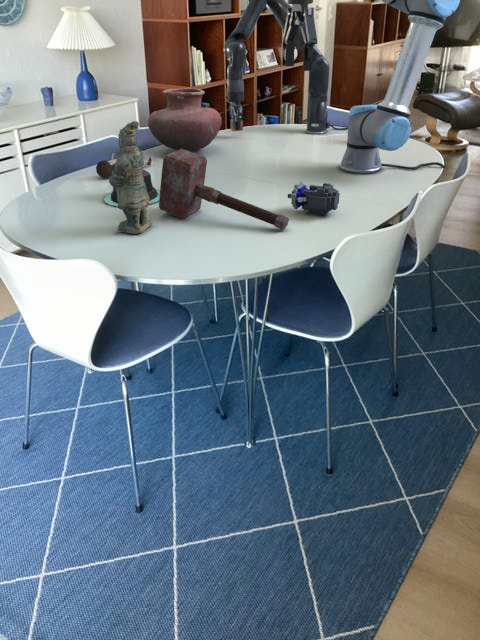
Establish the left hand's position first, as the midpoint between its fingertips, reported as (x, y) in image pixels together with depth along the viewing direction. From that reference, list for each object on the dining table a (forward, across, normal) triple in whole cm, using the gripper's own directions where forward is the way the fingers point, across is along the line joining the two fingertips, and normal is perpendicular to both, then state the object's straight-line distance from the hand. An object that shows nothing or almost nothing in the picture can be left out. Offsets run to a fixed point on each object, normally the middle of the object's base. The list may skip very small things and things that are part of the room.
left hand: (236, 128), depth 260 cm
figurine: (+4, +38, -59) cm, 70 cm away
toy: (+4, +108, -11) cm, 108 cm away
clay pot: (+4, +16, -28) cm, 33 cm away
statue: (+4, +101, -65) cm, 120 cm away
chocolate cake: (+4, +72, -60) cm, 94 cm away
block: (0, 0, 0) cm, 0 cm away
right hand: (-34, +84, -7) cm, 91 cm away
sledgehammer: (+4, +104, -38) cm, 111 cm away
